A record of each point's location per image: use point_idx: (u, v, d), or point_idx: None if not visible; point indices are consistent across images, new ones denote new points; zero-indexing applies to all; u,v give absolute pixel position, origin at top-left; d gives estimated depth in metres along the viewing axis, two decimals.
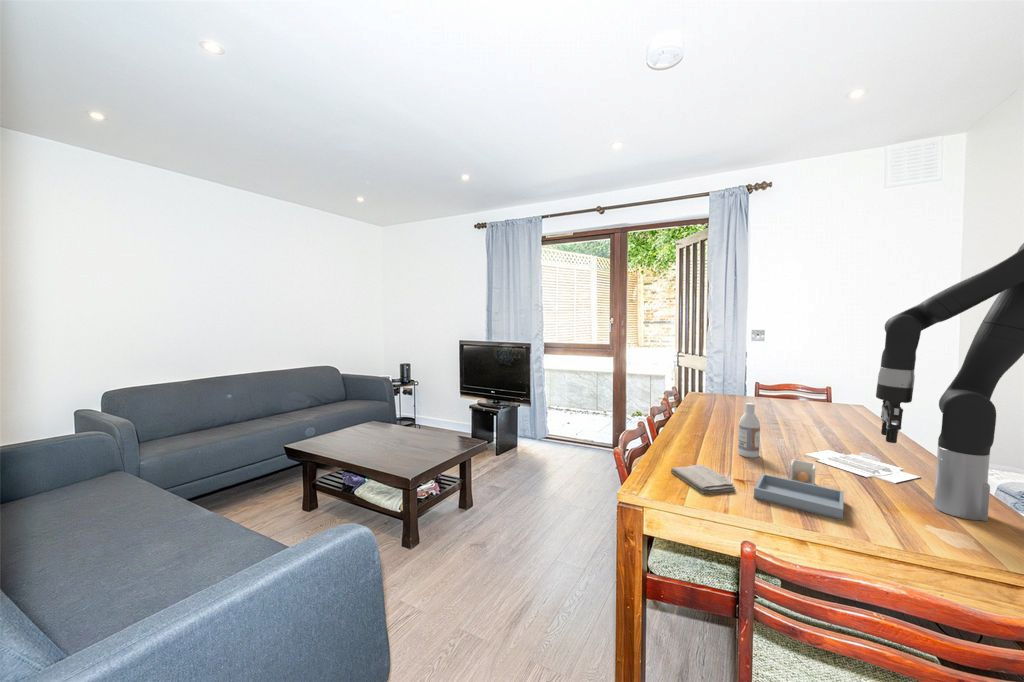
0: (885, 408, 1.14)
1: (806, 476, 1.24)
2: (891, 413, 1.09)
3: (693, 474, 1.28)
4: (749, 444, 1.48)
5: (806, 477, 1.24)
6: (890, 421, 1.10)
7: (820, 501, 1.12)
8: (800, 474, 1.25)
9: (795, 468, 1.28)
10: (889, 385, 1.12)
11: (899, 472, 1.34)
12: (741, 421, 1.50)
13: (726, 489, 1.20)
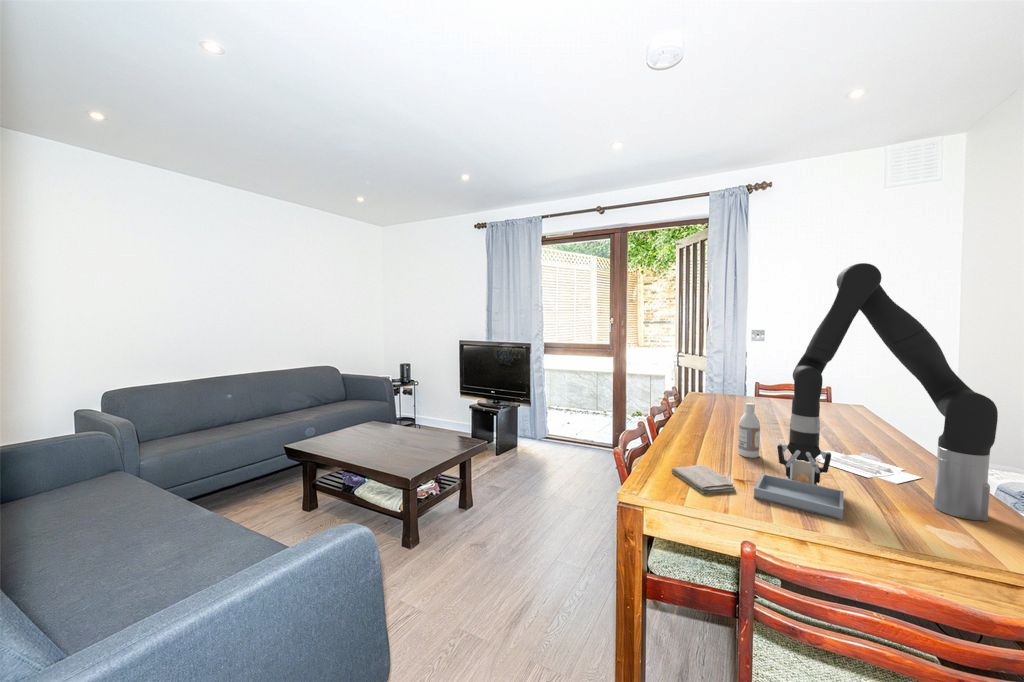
0: (810, 453, 1.22)
1: None
2: None
3: (693, 474, 1.28)
4: (749, 444, 1.48)
5: None
6: (828, 466, 1.20)
7: (820, 501, 1.12)
8: None
9: (795, 468, 1.28)
10: (817, 432, 1.21)
11: (901, 473, 1.33)
12: (741, 421, 1.50)
13: (726, 489, 1.20)
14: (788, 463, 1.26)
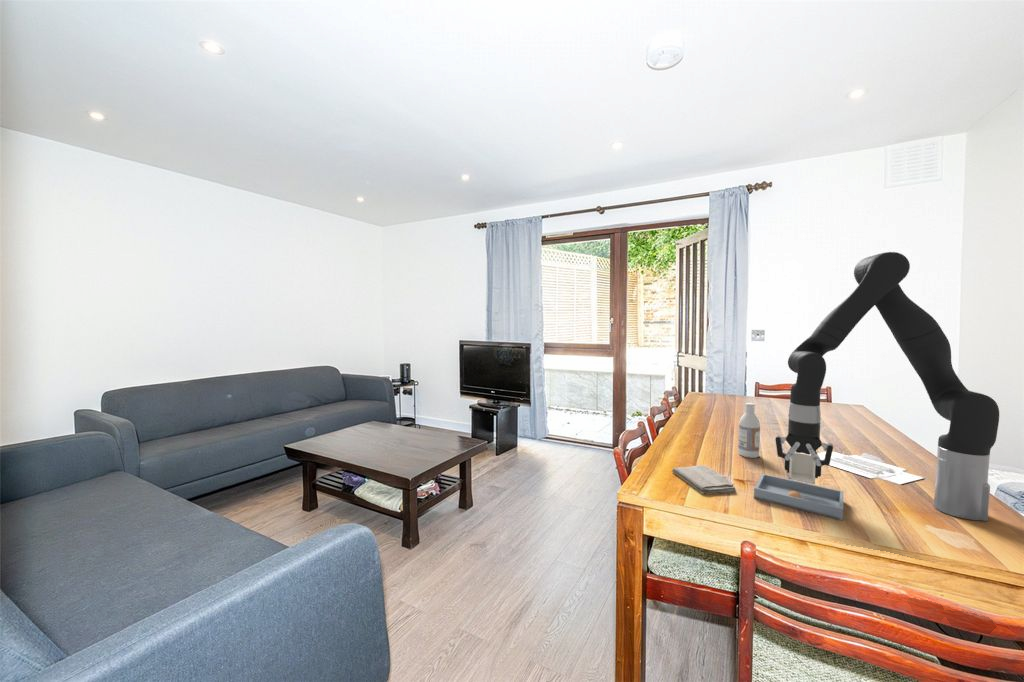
0: (811, 445, 1.14)
1: None
2: None
3: (694, 474, 1.28)
4: (749, 444, 1.48)
5: None
6: None
7: (820, 501, 1.12)
8: None
9: (794, 461, 1.20)
10: (818, 422, 1.13)
11: (903, 473, 1.33)
12: (741, 421, 1.50)
13: (726, 489, 1.19)
14: (787, 456, 1.18)
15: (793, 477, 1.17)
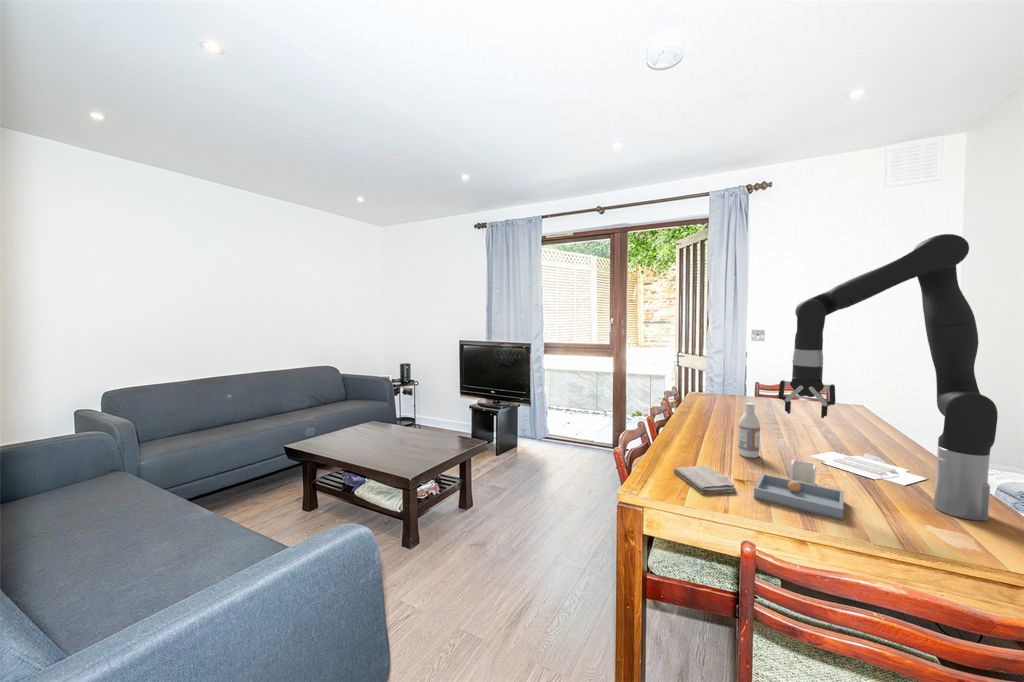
0: (814, 388, 1.21)
1: None
2: None
3: (695, 474, 1.27)
4: (749, 444, 1.48)
5: (799, 490, 1.17)
6: None
7: (820, 501, 1.12)
8: (797, 486, 1.17)
9: (795, 468, 1.28)
10: (821, 365, 1.19)
11: (906, 474, 1.32)
12: (741, 421, 1.50)
13: (726, 490, 1.19)
14: (787, 398, 1.26)
15: None
